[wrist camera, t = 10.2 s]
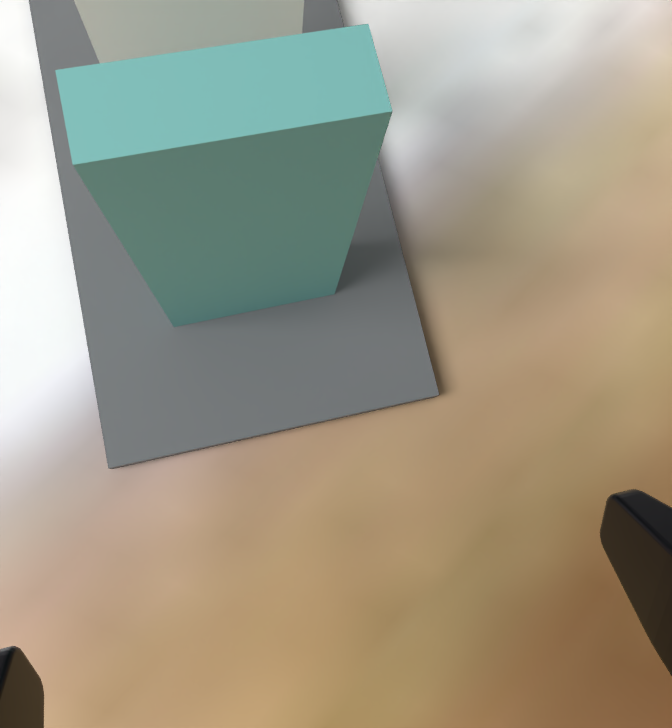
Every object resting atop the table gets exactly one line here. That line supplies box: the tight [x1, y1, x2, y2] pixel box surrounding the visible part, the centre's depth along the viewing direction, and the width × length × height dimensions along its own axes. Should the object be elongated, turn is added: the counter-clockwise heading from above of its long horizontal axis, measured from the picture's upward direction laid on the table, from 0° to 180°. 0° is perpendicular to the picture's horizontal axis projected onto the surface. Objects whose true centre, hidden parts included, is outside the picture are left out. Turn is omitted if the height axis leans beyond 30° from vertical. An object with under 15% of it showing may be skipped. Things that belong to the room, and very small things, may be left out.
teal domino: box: [55, 24, 392, 327], centre depth 15 cm, size 2×5×10 cm, turn 104°
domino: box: [74, 0, 304, 63], centre depth 16 cm, size 2×5×10 cm, turn 103°
